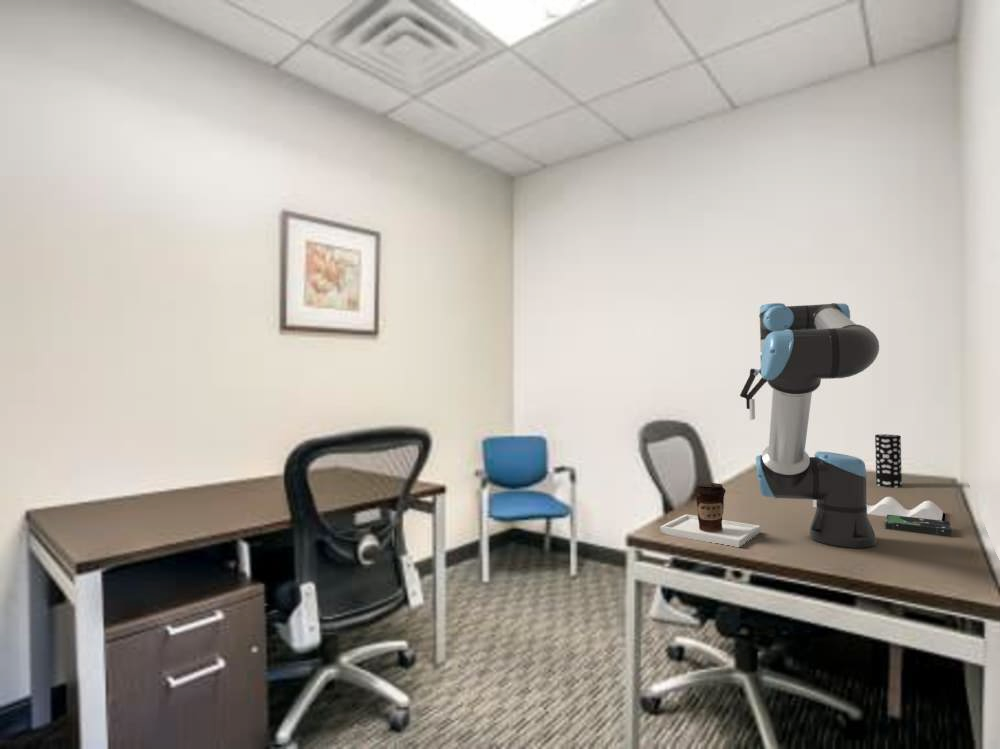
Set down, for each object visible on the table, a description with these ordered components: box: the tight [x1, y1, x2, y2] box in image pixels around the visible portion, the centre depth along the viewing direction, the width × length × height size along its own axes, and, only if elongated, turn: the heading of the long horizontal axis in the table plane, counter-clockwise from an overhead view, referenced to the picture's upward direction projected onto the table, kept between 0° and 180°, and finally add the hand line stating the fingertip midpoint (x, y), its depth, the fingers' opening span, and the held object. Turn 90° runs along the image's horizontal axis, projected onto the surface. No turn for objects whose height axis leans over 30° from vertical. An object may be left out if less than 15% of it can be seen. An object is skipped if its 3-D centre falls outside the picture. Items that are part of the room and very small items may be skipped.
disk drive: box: [884, 515, 951, 538], centre depth 158 cm, size 10×3×15 cm
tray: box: [659, 513, 762, 548], centre depth 158 cm, size 22×18×2 cm
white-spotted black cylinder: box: [874, 433, 903, 489], centre depth 219 cm, size 8×8×20 cm
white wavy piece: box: [812, 496, 947, 521], centre depth 179 cm, size 13×35×5 cm, turn 50°
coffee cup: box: [694, 482, 726, 532], centre depth 157 cm, size 9×8×13 cm
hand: (775, 420), depth 174 cm, fingers open, 13 cm apart
